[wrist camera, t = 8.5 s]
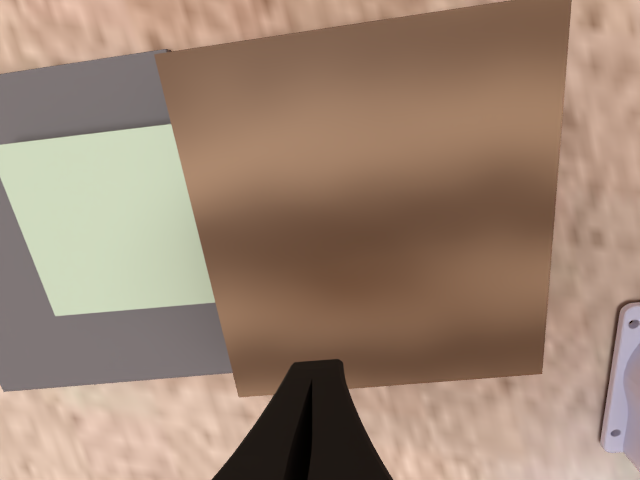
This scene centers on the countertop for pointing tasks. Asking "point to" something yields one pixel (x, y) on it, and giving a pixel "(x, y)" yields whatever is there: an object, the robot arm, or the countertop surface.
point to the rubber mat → (20, 271)
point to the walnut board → (378, 191)
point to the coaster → (107, 220)
